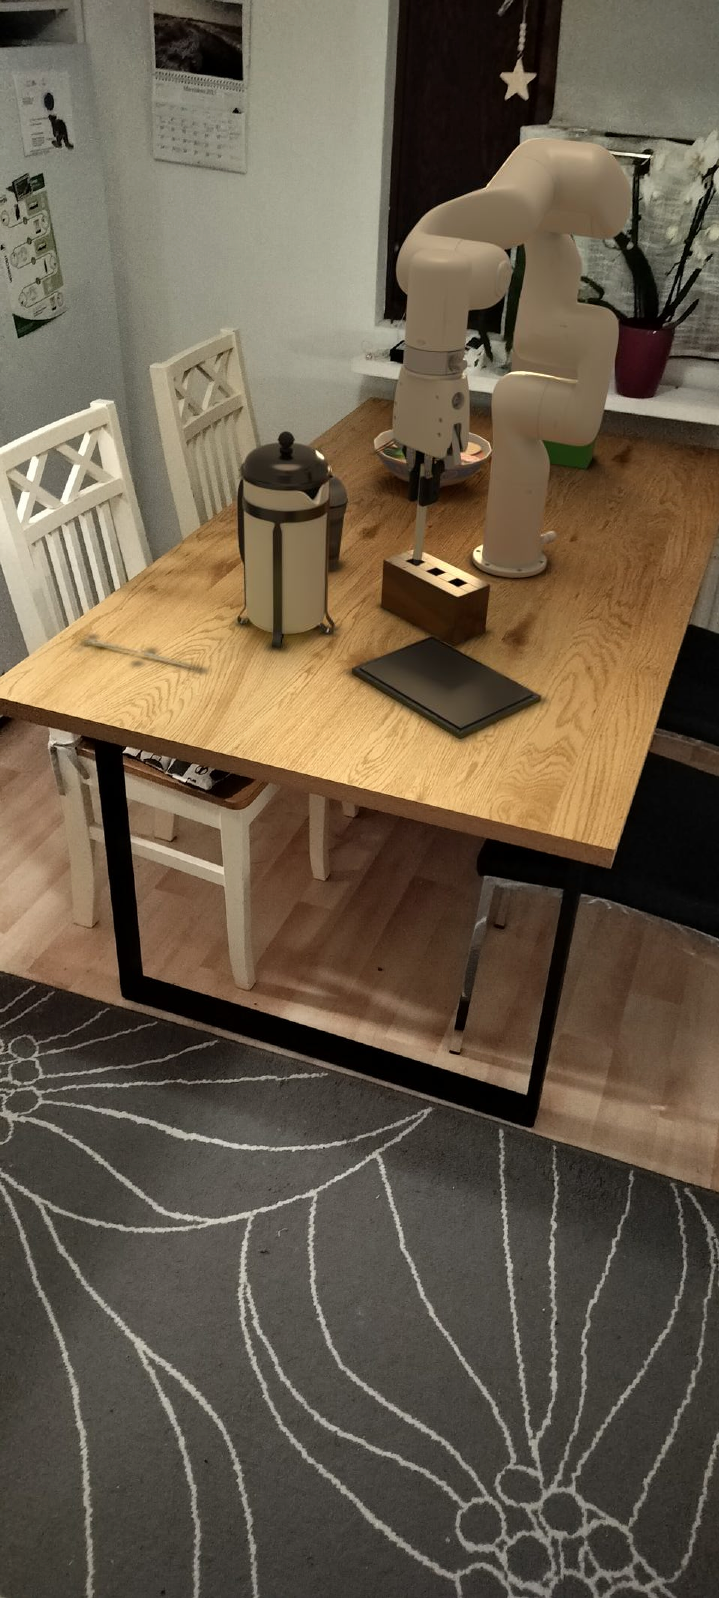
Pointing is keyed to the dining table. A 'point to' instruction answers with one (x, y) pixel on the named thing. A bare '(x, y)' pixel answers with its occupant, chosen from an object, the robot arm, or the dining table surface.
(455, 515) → the dining table surface
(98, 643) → the stylus
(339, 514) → the beverage cup
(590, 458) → the hardback book
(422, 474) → the rod
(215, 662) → the dining table surface
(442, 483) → the ramen bowl
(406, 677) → the tablet
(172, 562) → the dining table surface
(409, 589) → the pen block
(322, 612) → the coffee press
